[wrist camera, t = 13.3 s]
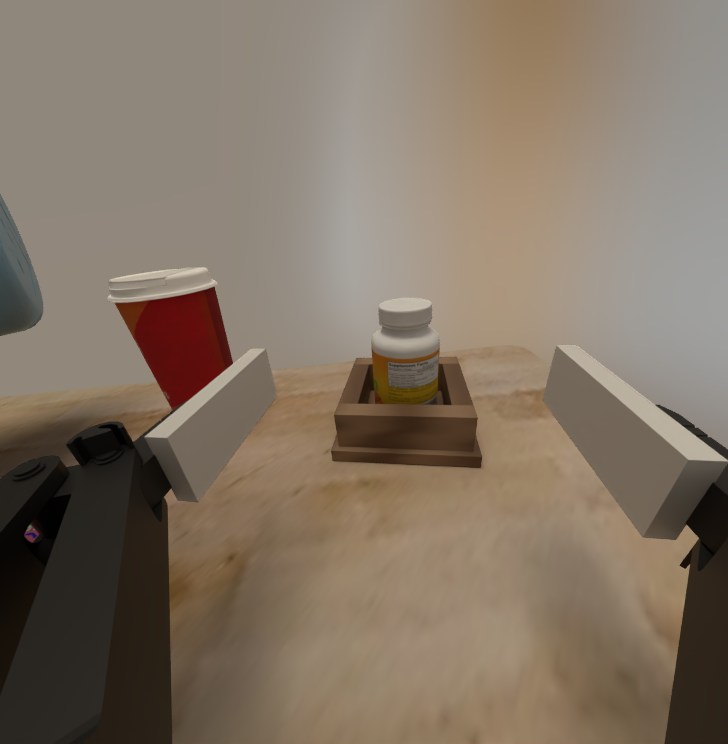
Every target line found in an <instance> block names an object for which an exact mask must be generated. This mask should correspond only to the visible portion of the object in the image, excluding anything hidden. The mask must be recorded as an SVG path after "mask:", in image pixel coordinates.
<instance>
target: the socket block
mask: <svg viewBox="0 0 728 744" xmlns="http://www.w3.org/2000/svg"><path fill="white" fill-rule="evenodd" d="M334 417H335V424H336V430H337V435H336V438H335V441H334V444H333V447H332V450H331V453H332V459H333V461H354V462H375V463H396V464H418V465H439V466H460V467H481V462H482V455H481V452H480V448H479V445H478V442H477V438H476V427H477V419H478V417H477V415H476V412H475V409H474V406H473V403H472V400H471V397H470V394H469V391H468V388H467V385H466V382H465V380H464V377H463V374H462V371H461V368H460V365H459V362H458V359H457V357H439V369H438V390H437V405H409V404H375V393H374V379H373V362H372V358H356V360H355V363H354V365H353V368H352V371H351V373H350V376H349V378H348V381H347V383H346V386H345V388H344V391H343V394H342V396H341V399H340V401H339V404H338V406H337V409H336V411H335V414H334Z"/></svg>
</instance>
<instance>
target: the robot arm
mask: <svg viewBox="0 0 728 744" xmlns="http://www.w3.org/2000/svg"><path fill="white" fill-rule="evenodd" d="M42 315H43V301H42V296H41V292H40V288H39V284H38V281H37V279H36V275H35V272H34V269H33V267H32V264H31V261H30V258H29V256H28V253H27V251H26V248H25V246H24V243H23V241H22V238H21V236H20V234H19V231H18V229H17V227H16V225H15V223H14V220H13V218H12V216H11V214H10V212H9V211H8V208H7V206H6V204H5V202H4V200H3V198H2V196H1V195H0V336H2V335H7V334H11V333H16V332H20V331H25V330H27V329H29V328H31V327H33V326H35V325H36V324H37V323H38V321H39V320H40V319H41V317H42ZM276 397H277V393H276V389H275V385H274V381H273V377H272V372H271V368H270V364H269V360H268V356H267V352H266V349H251V350H249V351H248V352H247V353H246V354H244V355H243V356H242V357H241V358H240V359H238V360H237V361H236V362H235V363H234V364H232V365H231V366H230V367H229V368H227V369H226V370H225V371H224V372H223V373H221V374H220V375H219V376H218V377H216V378H215V379H214V380H213V381H212V382H210V383H209V384H208V385H207V386H206V387H204V388H203V389H202V390H201V391H199V392H198V393H197V394H196V395H195V396H193V397H192V398H191V399H189V400H188V401H186V402H184V403H182V404H180V405H179V406H177V407H176V408H175V409H174V410H173V411H171V412H170V414H168V415H166V416H165V417H164V418H163V419H162V421H159V422H158V423H156V424H155V425H154V426H153V427H152V428H150V429H149V430H148V431H147V432H145V433H144V434H143V435H142V436H140V437H139V438H138V439H137V440H136V441H134V442H133V441H132V439H131V438H130V436H129V434H128V432H127V431H126V429H125V427H124V425H123V423H120V422H107V423H102V424H99V425H96V426H93V427H91V428H88V429H86V430H84V431H82V432H80V433H79V434H77V435H76V436H74V437H73V438H72V439H70V441H69V442H68V443H67V444H66V445H67V447H68V448H69V450H70V451H71V452H72V454H73V455H74V457H75V458H76V460H77V461H78V462H79V464H80V465H76V466H70V467H66V466H65V465H64V464H63V462H62V461H61V460H60V458H59V457H58V456H45V457H41V458H38V459H33V460H30V461H27V463H26V462H25V463H23V464H21V465H19V466H18V467H17V468H15V469H14V470H12V471H10V472H9V473H7V474H6V475H5V476H4V477H2V478H1V479H0V744H172V711H171V660H170V609H169V558H168V507H167V502H166V500H165V498H164V496H165V495H166V494H167V493H168V491H169V490H170V489H171V488H172V490H173V492H174V494H175V496H176V498H177V500H178V501H189V502H199V501H200V499H201V498H202V497H203V495H204V494H205V493H206V491H207V490H208V489H209V487H210V486H211V485H212V483H213V482H214V480H215V479H216V478H217V476H218V475H219V474H220V472H221V471H222V470H223V468H224V467H225V466H226V464H227V463H228V462H229V460H230V459H231V458H232V456H233V455H234V454H235V452H236V451H237V450H238V448H239V447H240V446H241V444H242V443H243V442H244V440H245V439H246V437H247V436H248V435H249V433H250V432H251V431H252V429H253V428H254V427H255V425H256V424H257V423H258V421H259V420H260V419H261V417H262V416H263V415H264V413H265V412H266V411H267V409H268V408H269V407H270V405H271V404H272V403H273V401H274V400H275V399H276ZM543 402H544V403H545V404H546V406H547V407H548V409H549V410H550V411H551V413H552V414H553V415H554V417H555V418H556V420H557V421H558V422H559V424H560V425H561V426H562V428H563V429H564V430H565V432H566V433H567V435H568V436H569V437H570V439H571V440H572V441H573V443H574V444H575V445H576V447H577V448H578V450H579V451H580V452H581V454H582V455H583V456H584V458H585V459H586V461H587V462H588V463H589V465H590V466H591V467H592V469H593V470H594V471H595V473H596V474H597V476H598V477H599V478H600V480H601V481H602V482H603V484H604V485H605V487H606V488H607V489H608V491H609V492H610V493H611V495H612V496H613V497H614V499H615V500H616V502H617V503H618V504H619V506H620V507H621V508H622V510H623V511H624V513H625V514H626V515H627V517H628V518H629V519H630V521H631V522H632V523H633V525H634V526H635V528H636V529H637V530H638V532H639V533H640V534H641V536H642V537H645V538H657V539H670V540H676V539H677V538H678V536H679V535H680V533H681V532H682V530H683V529H684V527H685V526H686V524H687V525H688V526H689V527H690V529H691V530H692V531H693V532H694V533H695V534H696V535H697V536H698V537H699V539H698V541H697V542H696V544H695V545H694V546H693V548H692V549H691V550H690V552H689V553H688V554H687V556H686V557H685V558H684V560H683V561H682V563H681V564H680V566H681V567H683V568H685V569H686V568H687V566H688V565H689V564H690V570H689V577H688V584H687V591H686V598H685V605H684V612H683V619H682V626H681V633H680V640H679V647H678V654H677V661H676V668H675V675H674V682H673V689H672V696H671V703H670V710H669V717H668V724H667V731H666V738H665V744H728V450H727V449H726V448H725V447H723V446H722V445H721V444H719V443H718V442H716V441H715V440H714V439H712V438H710V437H708V435H707V434H705V433H704V432H703V431H701V430H700V429H699V428H695V427H694V425H693V424H692V423H690V422H689V421H687V420H686V419H685V418H683V417H682V416H681V415H679V414H677V413H675V412H673V411H671V410H669V409H667V408H665V407H662V406H660V405H654V404H653V403H652V402H650V401H649V400H648V399H646V398H645V397H644V396H642V395H641V394H640V393H638V392H637V391H636V390H634V389H633V388H632V387H631V386H629V385H628V384H627V383H625V382H624V381H622V380H621V379H620V378H619V377H617V376H616V375H615V374H613V373H612V372H611V371H610V370H608V369H607V368H606V367H604V366H603V365H602V364H600V363H599V362H598V361H596V360H595V359H594V358H592V357H591V356H590V355H588V354H587V353H586V352H584V351H583V350H582V349H581V348H579V347H578V346H577V345H557V346H556V349H555V353H554V357H553V361H552V365H551V369H550V373H549V377H548V380H547V384H546V388H545V392H544V396H543ZM30 524H31V525H32V526H33V528H34V529H35V530H36V531H37V532H38V533H39V535H38V536H37V537H36V539H35V540H34V541H33V542H30V541H29V540H28V539H27V538H26V537H25V536H24V534H25V532H26V530H27V528H28V526H29V525H30Z"/></svg>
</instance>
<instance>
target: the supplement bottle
mask: <svg viewBox="0 0 728 744" xmlns="http://www.w3.org/2000/svg"><path fill="white" fill-rule="evenodd" d="M431 319H432V303H431V302H430V301H428V300H426V299H421V298H398V299H391V300H387V301H384V302H382V303H381V304H380V305H379V324H380V325H381V326H382V328H381V329H379V330H378V331H376V332H375V334H374V335H373V337H372V342H371V343H372V362H373V379H374V393H375V404H409V405H437V390H438V369H439V349H440V342H439V341H440V339H439V336H438V334H437V332H436V331H435V330H434V329H432V328H431V327H429V326H428V324H430V322H431Z"/></svg>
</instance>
